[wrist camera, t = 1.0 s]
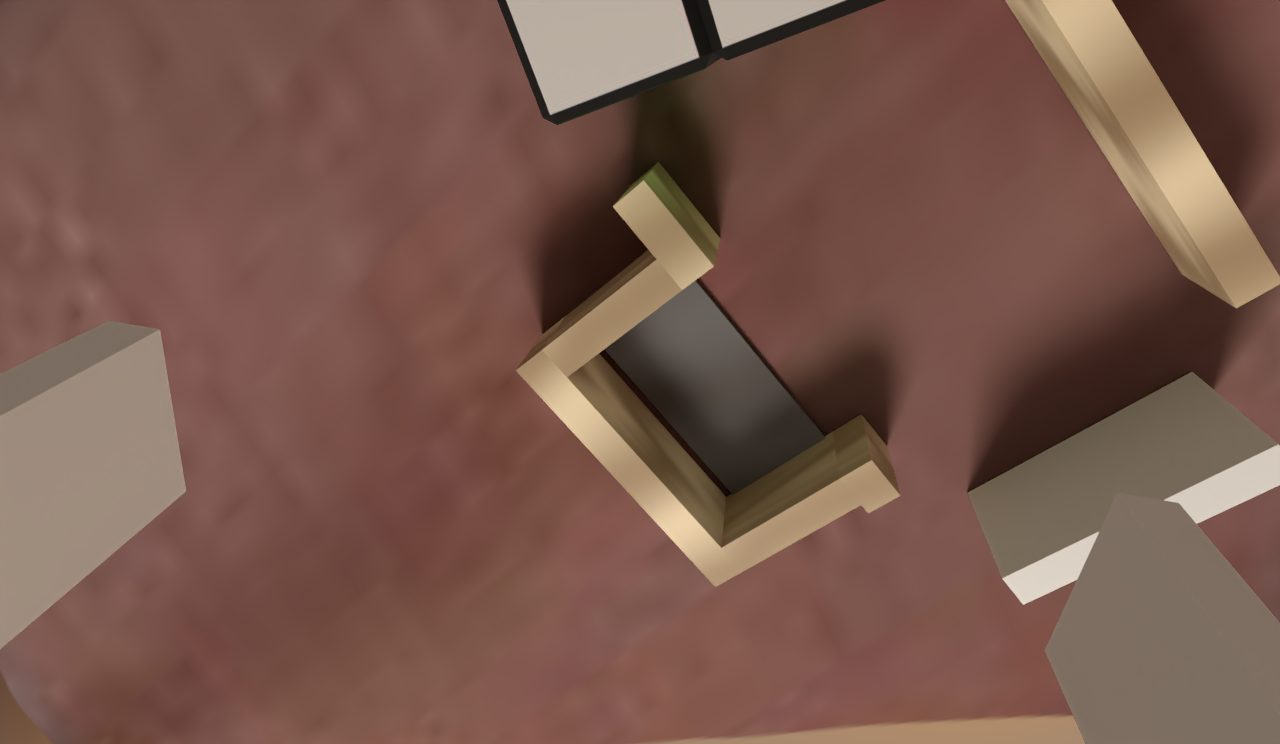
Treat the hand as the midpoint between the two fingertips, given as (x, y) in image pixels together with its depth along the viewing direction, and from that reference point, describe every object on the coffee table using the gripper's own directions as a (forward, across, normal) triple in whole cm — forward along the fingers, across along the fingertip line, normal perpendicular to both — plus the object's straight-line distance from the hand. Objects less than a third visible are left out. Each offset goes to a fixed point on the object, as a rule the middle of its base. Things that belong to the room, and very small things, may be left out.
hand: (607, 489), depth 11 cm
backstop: (+22, +18, -9) cm, 30 cm away
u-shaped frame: (+23, +6, -3) cm, 24 cm away
